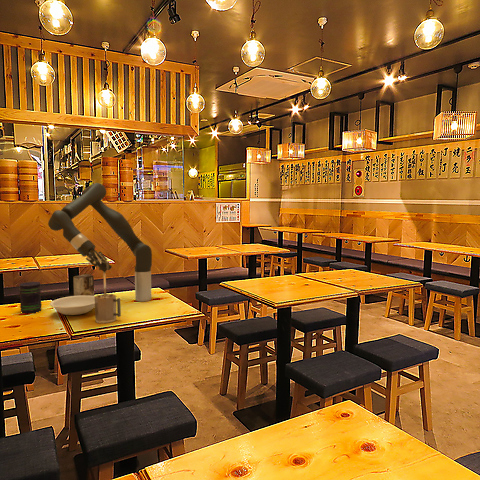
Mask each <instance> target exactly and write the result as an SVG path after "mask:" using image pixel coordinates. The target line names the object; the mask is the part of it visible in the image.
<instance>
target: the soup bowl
mask: <svg viewBox="0 0 480 480" xmlns="http://www.w3.org/2000/svg"><path fill="white" fill-rule="evenodd" d="M96 296H97V295H94V296H89V295H80V296H74V295H70V296H65V297H60V298H57V299H54V300H52V301H50V302H49V306H50V307H53V308H54V309H55V310H56V311H57V313H60V314H62V315H66V316H75V315H76V316H77V315H82V314H83V315H84V314H86V313H88V312H90V311H92V310H93V309H95V297H96Z"/></svg>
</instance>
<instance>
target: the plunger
mask: <svg viewBox="0 0 480 480" xmlns="http://www.w3.org/2000/svg"><path fill="white" fill-rule="evenodd" d="M101 263H102V264H103V265H104V266H105V267H106V268H107V269H109V264H110V261H107V262H101ZM98 268H99V267H98ZM98 270H99V271H102V270H101V269H100V268H99V269H98ZM102 272H103V271H102ZM106 272H107V271H106ZM106 272H103V273H102V274H103V294H104V296H101V297H99V298H108V297H112V296H106V294H107V279H106V278H107V274H106Z"/></svg>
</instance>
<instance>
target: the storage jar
mask: <svg viewBox="0 0 480 480" xmlns="http://www.w3.org/2000/svg"><path fill="white" fill-rule="evenodd" d="M41 288H42V287H41V282H40V281H26V282H21V283H19V296H20V307H19V308H20V313H21V312H22V313H34V314H37V313H36V312H38V313H40V312H39V311H41V310H42V299H41V293H42V292H41V291H42V290H41ZM41 312H42V311H41ZM22 313H21V314H22Z"/></svg>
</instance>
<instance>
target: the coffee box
mask: <svg viewBox="0 0 480 480" xmlns="http://www.w3.org/2000/svg"><path fill="white" fill-rule="evenodd" d="M72 279H73V281H72V282H73V296H80V295H89V296H95V280H94V275H93V274H90V273H84V274H81V275H75V276H73V277H72Z"/></svg>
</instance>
